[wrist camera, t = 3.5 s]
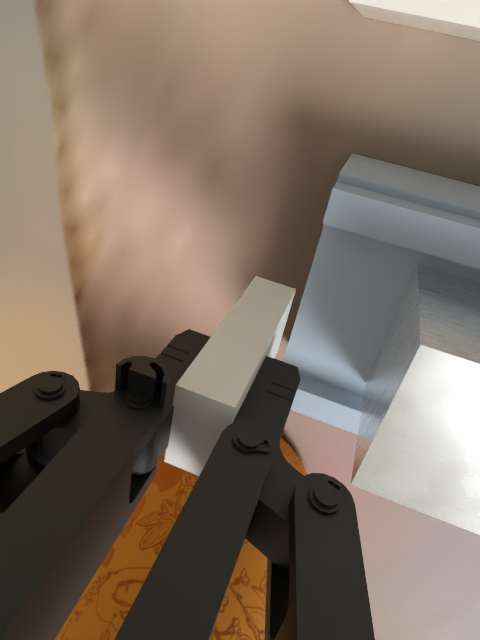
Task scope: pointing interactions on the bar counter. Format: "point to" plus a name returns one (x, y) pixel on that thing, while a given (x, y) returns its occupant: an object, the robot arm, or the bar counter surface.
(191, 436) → the robot arm
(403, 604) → the bar counter surface
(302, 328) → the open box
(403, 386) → the grey long rectangular block
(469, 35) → the cradle
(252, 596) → the wine bottle
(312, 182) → the bar counter surface
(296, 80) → the bar counter surface
